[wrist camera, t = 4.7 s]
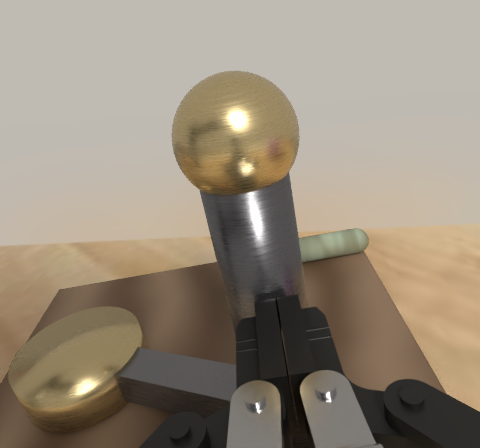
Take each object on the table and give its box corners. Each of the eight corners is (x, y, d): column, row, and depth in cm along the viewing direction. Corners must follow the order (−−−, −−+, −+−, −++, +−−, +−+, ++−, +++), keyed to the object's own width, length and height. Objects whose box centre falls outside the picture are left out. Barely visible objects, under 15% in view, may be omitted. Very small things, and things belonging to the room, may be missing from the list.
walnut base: (-72, 545, 19) (-110, 500, 18) (66, 304, 36) (51, 271, 34) (483, 467, 18) (488, 411, 17) (362, 253, 34) (359, 216, 33)
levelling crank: (-2, 415, 23) (-168, 141, 17) (86, 330, 29) (-14, 99, 22) (315, 519, 16) (235, 90, 9) (351, 376, 21) (318, 45, 15)
